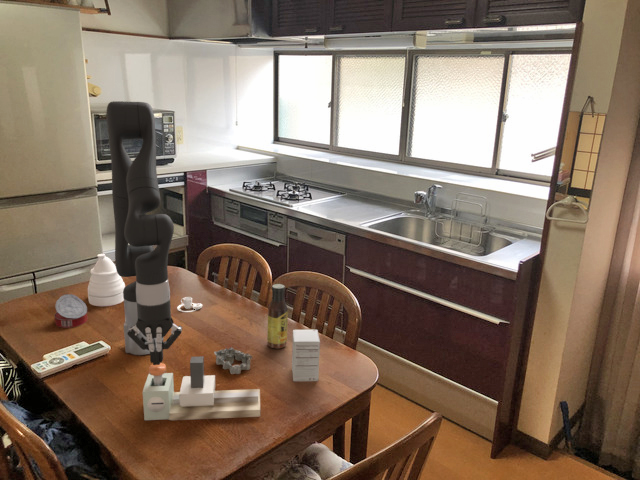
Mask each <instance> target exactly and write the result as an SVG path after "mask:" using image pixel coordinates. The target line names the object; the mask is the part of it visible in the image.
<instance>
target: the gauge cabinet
mask: <svg viewBox="0 0 640 480" xmlns="http://www.w3.org/2000/svg"><path fill="white" fill-rule="evenodd" d="M162 381H163V386H154V376H153V375H150V374H149V373H148V374H147V378H146V381H145V382H144V386H143V389H142V403H143V405H142V406H143V414H144V415H143V418H144V421H156V420H158V421H159V420H170V419H169V412H170V408H171V404H172V400H173V396H174V392H175V385H174V373H173V372H165V373H164V374H162Z"/></svg>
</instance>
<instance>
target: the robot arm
mask: <svg viewBox="0 0 640 480" xmlns="http://www.w3.org/2000/svg"><path fill="white" fill-rule="evenodd" d="M105 113H106V126H107V136H108V143H109V153H110V161H111V193H112V195H111V196H112V206H113V208H112V209H113V215H114V216H113V217H114V231H115V233H114V234H115V235H114V236H115V239H114V265H115V266H116V270H117V273H118V274H119V276H121V278H129V277H130V278H131V277H135V281H133V282H131V283H129V284H127V285H125V288H124V290H123V297H124V301H123V306H124V307H123V308H124V323H123V333H124V347H125V353H126V354H131V355H133V356H134V355H135V356H144V355H149V359H150V360H149V361H150V363H151V364H153V365H160V363H163V360H164V350H169V349H170V348H171V346H172V345H173V344H174V343H175V341H176V340H177V339H178V338H179V336H181V334H182V331H183V326H181V325H179V326H178V325H177V324H175V323H174V319H173V318H172V311H171V309H172V308H171V290H170V289H171V288H170V284H169V274H168V261H169V260H168V259H169V258H168V257H169V253H170V248H171V243H172V241H173V237H174V231H175V230H174V229H175V227H174V222H173V220H172V219H171V216H169V215H167V214H166V213H155V214H154V213H153V214H147V213H150V212H153V211H155V210H157V209H158V208H159V207H160V205H161V203H162V202H161V201H162V200H161V193H160V188H159V187H160V186H159V181H158V173H157V138H156V120H155V115H154V114H155V113H154V111H153V108H152V106H151V104H150V103H149V102H145V101H125V100H124V101H110V102H108V104H107V106H106V112H105ZM123 140H142V145H141V147H140V150H139V152H138V153H137V155H136V156H135V158H134V160H133V161H132V159H131V158H130V156H129V154H128V153H127V151H126V149H125V147H124V144H123ZM154 246H155V248H154ZM169 331H170V332H171V333H170V335H169V336H168V337H167V339H166V340H165V341H164V338H165V336H166V335H168V333H169Z"/></svg>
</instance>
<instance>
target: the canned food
mask: <svg viewBox="0 0 640 480" xmlns="http://www.w3.org/2000/svg"><path fill="white" fill-rule="evenodd" d="M54 308H55V310H56V313H54V322H55V325H56V327H59V328H67V329H68V328H75V327H79V326H82V325H83V324H85V323H86V322H88V320H89V319H88V307H87V305H86V303H85V302H84V301H83V300H82V299H81V298H79V297H78V296H77V295H76V294H72V293H70V294H68V293H66V294H63V295H61V296H60V297H59V298H58V299H57V300H56V302H55V306H54Z"/></svg>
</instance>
